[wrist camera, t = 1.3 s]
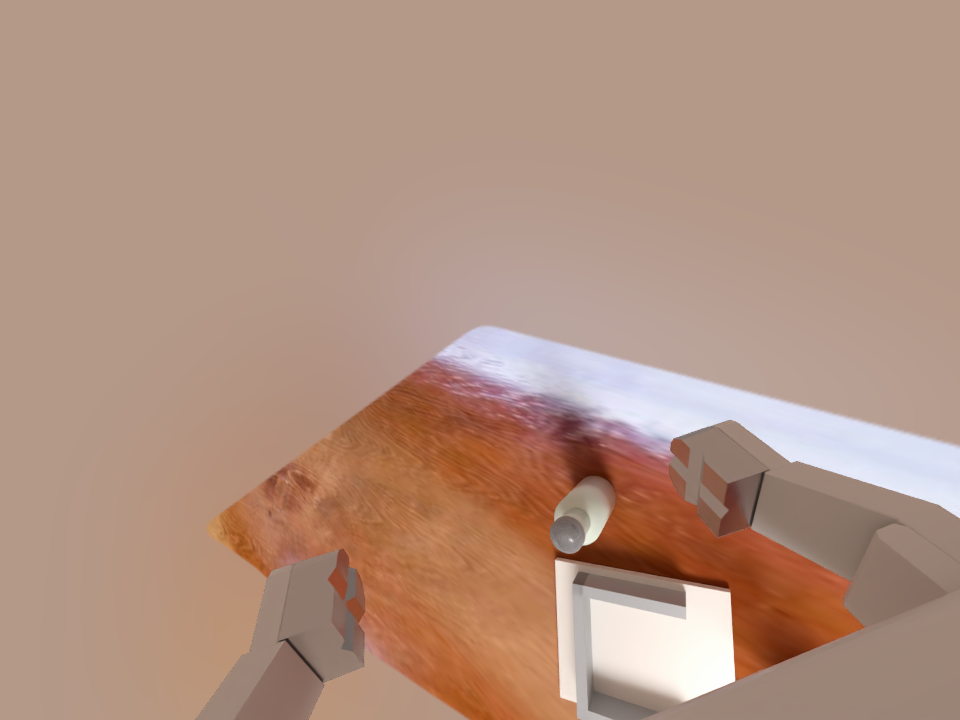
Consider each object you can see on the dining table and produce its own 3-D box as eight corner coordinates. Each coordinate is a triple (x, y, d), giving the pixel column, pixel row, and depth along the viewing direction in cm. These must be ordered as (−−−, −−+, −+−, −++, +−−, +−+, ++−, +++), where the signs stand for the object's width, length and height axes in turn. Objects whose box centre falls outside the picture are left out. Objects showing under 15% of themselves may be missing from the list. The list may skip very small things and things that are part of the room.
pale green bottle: (615, 477, 46) (591, 513, 35) (617, 517, 46) (593, 567, 35) (575, 473, 48) (540, 506, 37) (577, 512, 48) (542, 557, 37)
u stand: (729, 588, 41) (733, 608, 38) (738, 752, 40) (743, 787, 37) (556, 557, 49) (547, 571, 46) (562, 692, 49) (552, 716, 45)
